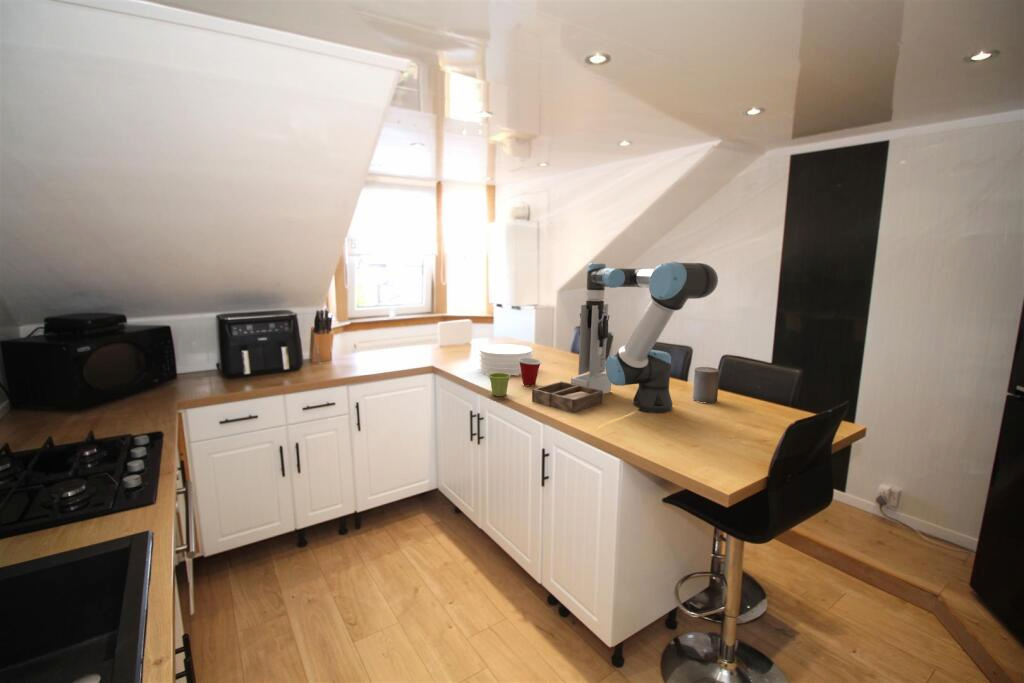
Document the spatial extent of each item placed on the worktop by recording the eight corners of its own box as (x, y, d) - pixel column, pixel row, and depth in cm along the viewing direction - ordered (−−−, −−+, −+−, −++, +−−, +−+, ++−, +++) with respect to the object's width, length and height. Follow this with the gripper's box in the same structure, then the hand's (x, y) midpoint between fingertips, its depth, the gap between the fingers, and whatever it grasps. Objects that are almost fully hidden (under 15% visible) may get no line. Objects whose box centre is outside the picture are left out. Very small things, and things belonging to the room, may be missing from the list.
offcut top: (595, 400, 183) (595, 395, 183) (570, 406, 175) (571, 401, 175) (581, 395, 190) (581, 391, 189) (556, 401, 181) (556, 396, 181)
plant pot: (487, 391, 203) (488, 372, 201) (509, 391, 204) (509, 372, 202) (488, 397, 193) (489, 377, 192) (511, 397, 194) (511, 377, 193)
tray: (602, 405, 185) (602, 390, 184) (573, 415, 172) (574, 400, 171) (560, 394, 200) (561, 381, 199) (532, 403, 186) (532, 389, 185)
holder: (610, 392, 205) (611, 374, 204) (587, 400, 192) (588, 381, 191) (594, 388, 211) (595, 371, 210) (570, 396, 198) (571, 378, 197)
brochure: (589, 377, 193) (592, 306, 188) (578, 375, 196) (581, 305, 191) (604, 371, 204) (608, 304, 199) (593, 369, 207) (596, 303, 202)
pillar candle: (720, 400, 195) (722, 365, 192) (713, 405, 187) (716, 369, 185) (696, 396, 201) (698, 362, 198) (689, 401, 193) (691, 366, 191)
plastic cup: (537, 388, 209) (538, 363, 207) (515, 386, 212) (515, 361, 210) (543, 383, 219) (544, 358, 217) (522, 381, 222) (522, 356, 220)
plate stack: (468, 369, 245) (468, 348, 243) (503, 362, 266) (504, 342, 264) (508, 378, 227) (508, 356, 225) (542, 369, 248) (542, 349, 246)
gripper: (619, 301, 191) (616, 355, 195) (581, 298, 204) (579, 349, 208) (609, 301, 186) (606, 357, 189) (571, 298, 198) (569, 351, 202)
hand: (592, 353), depth 198 cm, fingers closed on brochure, 6 cm apart
